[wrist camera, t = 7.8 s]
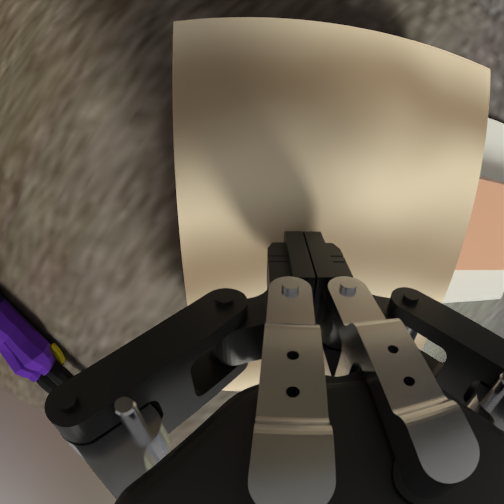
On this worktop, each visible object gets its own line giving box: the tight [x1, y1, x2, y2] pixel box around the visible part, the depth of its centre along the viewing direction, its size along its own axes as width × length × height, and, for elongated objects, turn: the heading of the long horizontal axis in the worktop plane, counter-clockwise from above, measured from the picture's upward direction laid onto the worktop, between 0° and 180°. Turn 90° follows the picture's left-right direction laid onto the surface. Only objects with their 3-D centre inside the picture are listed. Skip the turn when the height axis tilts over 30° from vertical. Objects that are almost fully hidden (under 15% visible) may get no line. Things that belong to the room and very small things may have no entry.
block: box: [172, 17, 490, 391], centre depth 17 cm, size 20×14×7 cm
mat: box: [443, 118, 504, 303], centre depth 20 cm, size 16×12×1 cm
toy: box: [0, 294, 73, 394], centre depth 24 cm, size 27×6×30 cm
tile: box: [455, 176, 504, 270], centre depth 18 cm, size 7×9×2 cm
